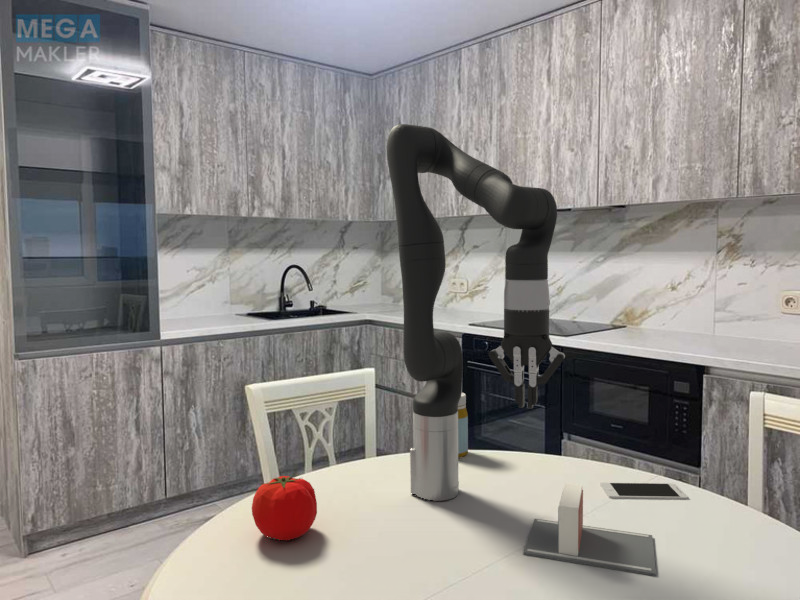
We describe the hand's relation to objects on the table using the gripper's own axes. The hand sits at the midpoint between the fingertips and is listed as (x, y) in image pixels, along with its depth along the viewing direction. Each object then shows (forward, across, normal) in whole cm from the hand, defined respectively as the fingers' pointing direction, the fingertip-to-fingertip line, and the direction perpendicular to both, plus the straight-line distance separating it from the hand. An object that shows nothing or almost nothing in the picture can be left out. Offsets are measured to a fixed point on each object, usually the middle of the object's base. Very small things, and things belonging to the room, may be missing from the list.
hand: (526, 406), depth 102 cm
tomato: (+23, -40, -13) cm, 49 cm away
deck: (+19, +8, 0) cm, 20 cm away
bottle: (+23, -24, +37) cm, 50 cm away
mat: (+23, +10, 0) cm, 25 cm away
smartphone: (+24, +20, +27) cm, 41 cm away
